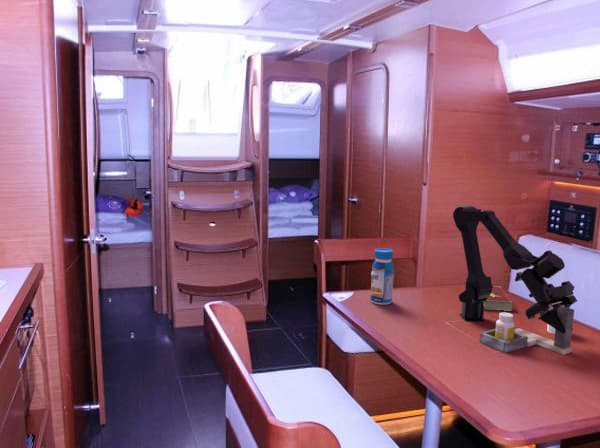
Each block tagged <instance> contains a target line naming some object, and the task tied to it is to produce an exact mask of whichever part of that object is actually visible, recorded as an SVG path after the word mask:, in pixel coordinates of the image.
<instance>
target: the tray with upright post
mask: <svg viewBox="0 0 600 448" xmlns="http://www.w3.org/2000/svg"><path fill="white" fill-rule="evenodd" d="M574 315H575V309H572V308H567V307H561V308H558V312H557V316H558V317H559V319H560V321H561V323H562V325H563V326H564V328H565V330H566V333H564V334H562V333H561V332H559V331H558V330H555V334H554V340H553V339H550V338H547V337H545V336H542V335H539V334H537V333H533V332H531V331H528V330H524V329H523V328H519V327H517V328H515V332H514V339H513V340H509V341H504V340H501V339H499V338H496V337H495V331H496V328H493V329H489V330H486V331H482V332H480V334H479V335H480V336H479V343H481V344H483V345H486V346H488V347H491V348H492V349H496V350H497V351H500V352H502V353H505V354H507V353H510V352H511V353H512V352H514V351H517V350H520V349H523V348H526V347H528V348H529V347H532V346H534V345H538V346H540V347H542V348H545V349H547V350H550V351H553V352H556V353H558V354H560V355H567V354H569V353H572V350H573V347H572V346H571V343H572V333H573V330H572V328H573V327H574V326H573V325H574V324H573V323H574V317H575V316H574Z"/></svg>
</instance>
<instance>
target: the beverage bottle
mask: <svg viewBox="0 0 600 448" xmlns="http://www.w3.org/2000/svg"><path fill="white" fill-rule="evenodd" d="M393 257H394V251H393V249H390V248H385V247H383V248H382V247H380V248H379V247H378V248H376V249H374V259H375V260H374V261H373V262H372V265H371V269H372V271H371V273H370V276H371V284H370V285H371V287H370V302H371V303H373V304H376V305H382V306H384V305H390V304H391V303H393V285H394V278H395V274H394V270H395V266H394V264H393V262H392V261H393Z"/></svg>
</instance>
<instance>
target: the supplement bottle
mask: <svg viewBox="0 0 600 448" xmlns="http://www.w3.org/2000/svg"><path fill="white" fill-rule="evenodd" d="M498 318H499V319H497V320H496V322H495V329H496V331H495V337H496V338H499V339H501V340H504V341H509V340H513V339H514V332H515V329H516V328H515V327H516V323H515V322H514V314H512V313H510V312H506V311H502V312H499V315H498Z"/></svg>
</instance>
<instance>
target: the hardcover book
mask: <svg viewBox="0 0 600 448" xmlns="http://www.w3.org/2000/svg"><path fill="white" fill-rule="evenodd" d="M492 286H493V288H492V293H491V294H490V296H489V297H488V298H487V300H486V301H483V306H484V310H487V311H490V310H491V311H500V310H504V311H503V312H506V311H508V312H509V311H510V312H513V311H514V302H513V301H512V299H511V298H510V297H509V295H508V294H507V293H506V292H505V290H504V289H503V287H502V286H497V285H492Z"/></svg>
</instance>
